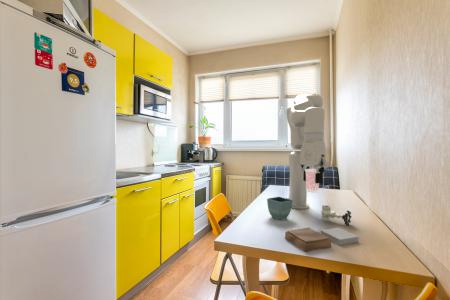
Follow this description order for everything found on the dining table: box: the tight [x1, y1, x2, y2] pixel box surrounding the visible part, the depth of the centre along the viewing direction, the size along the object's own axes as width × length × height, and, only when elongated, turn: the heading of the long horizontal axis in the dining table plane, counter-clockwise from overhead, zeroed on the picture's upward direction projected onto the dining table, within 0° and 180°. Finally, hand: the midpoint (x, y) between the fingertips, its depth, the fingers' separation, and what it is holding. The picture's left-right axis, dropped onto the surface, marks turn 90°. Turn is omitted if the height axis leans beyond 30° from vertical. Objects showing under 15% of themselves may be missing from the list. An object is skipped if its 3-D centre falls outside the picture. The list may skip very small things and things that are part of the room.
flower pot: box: [266, 196, 293, 221], centre depth 105 cm, size 9×9×9 cm
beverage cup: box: [305, 166, 320, 194], centre depth 90 cm, size 6×6×14 cm
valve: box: [320, 204, 352, 226], centre depth 101 cm, size 7×7×12 cm
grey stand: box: [320, 227, 360, 246], centre depth 83 cm, size 9×9×2 cm
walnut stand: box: [284, 227, 332, 253], centre depth 79 cm, size 11×11×3 cm
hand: (312, 181), depth 90 cm, fingers closed on beverage cup, 6 cm apart
